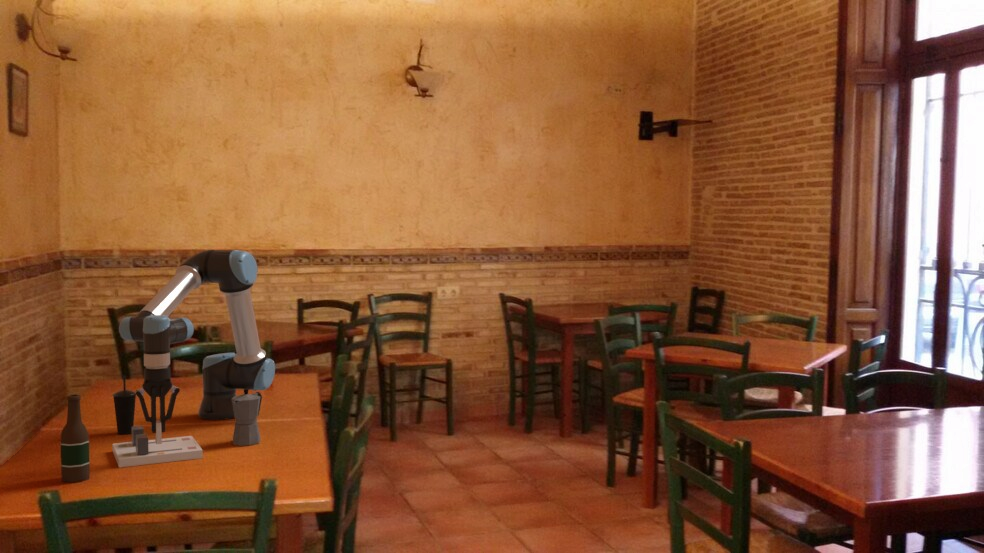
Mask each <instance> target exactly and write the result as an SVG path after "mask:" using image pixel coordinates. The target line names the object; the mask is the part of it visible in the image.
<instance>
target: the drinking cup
mask: <svg viewBox="0 0 984 553" xmlns="http://www.w3.org/2000/svg"><path fill="white" fill-rule="evenodd" d="M122 379H123V381H122V382H123V386H122V388H123V389H121V390H118V391H116V392H114V393H112V397H113V403H114V404H113V405H114V412H115V422H116V430H117V435H123V436H124V435H125V436H126V435H130V434H131V435H132V426H135V425H134V422H135V413H136V412H135V410H136V399H137V398H136V397H137V395H136V393H135V391H134V390H131V389H127V387H126V383H127V382H126V375H125V374H123V375H122Z"/></svg>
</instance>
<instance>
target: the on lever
mask: <svg viewBox="0 0 984 553" xmlns="http://www.w3.org/2000/svg"><path fill="white" fill-rule="evenodd" d="M139 434H145V432H144V427H143V425H133V426H132V433H131V442H132V443H133V445H134V446H135V445H136V435H139Z"/></svg>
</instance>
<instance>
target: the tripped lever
mask: <svg viewBox="0 0 984 553" xmlns="http://www.w3.org/2000/svg"><path fill="white" fill-rule="evenodd" d="M148 440H149V436H148V434H147V433H144V434H139V435H136V452H137V454H138V455H142V454H148Z"/></svg>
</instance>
